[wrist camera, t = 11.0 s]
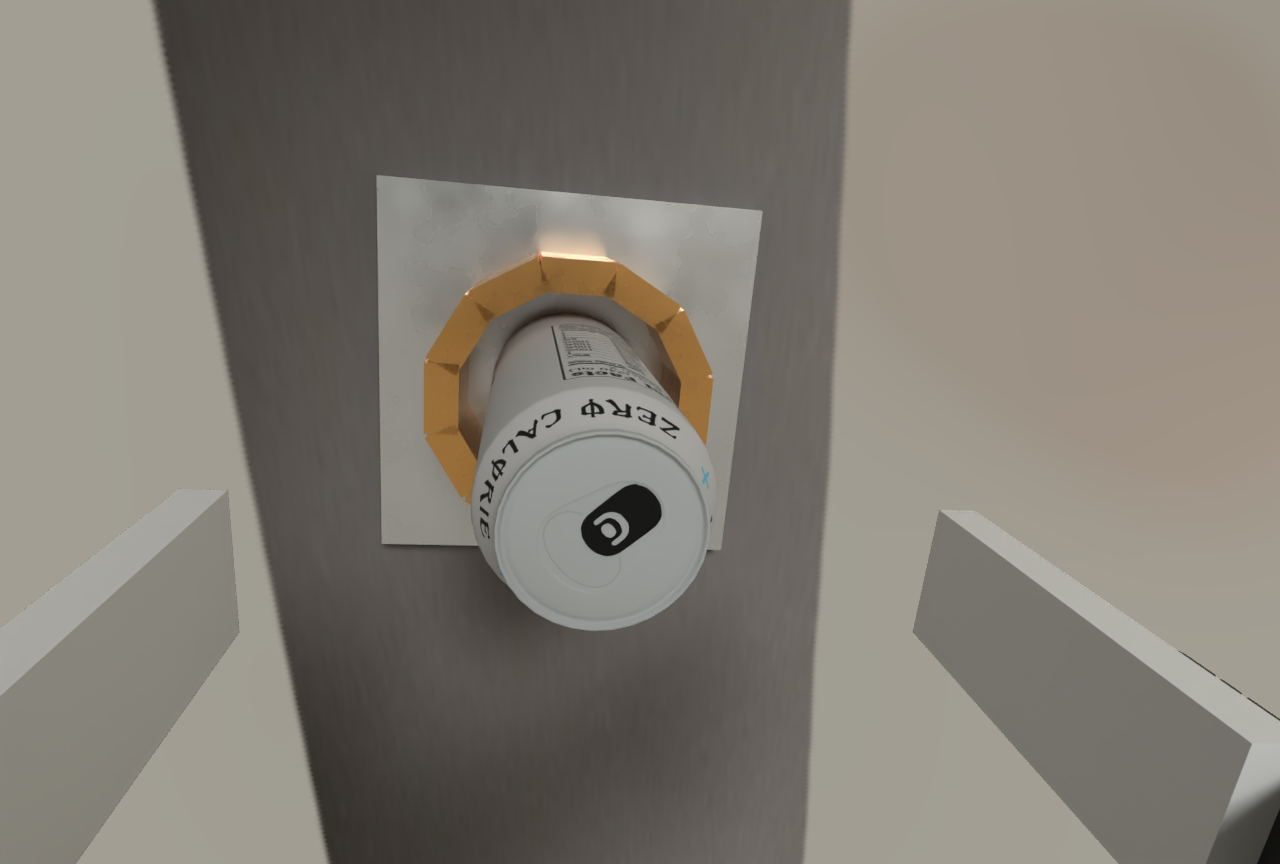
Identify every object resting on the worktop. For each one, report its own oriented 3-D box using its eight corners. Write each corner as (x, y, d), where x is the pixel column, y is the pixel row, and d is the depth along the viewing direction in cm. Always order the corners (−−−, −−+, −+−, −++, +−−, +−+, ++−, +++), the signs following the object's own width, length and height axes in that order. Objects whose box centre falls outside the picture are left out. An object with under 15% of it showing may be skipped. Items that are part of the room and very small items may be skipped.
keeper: (383, 177, 28) (350, 167, 23) (754, 211, 30) (796, 209, 26) (387, 532, 32) (360, 588, 27) (714, 539, 35) (744, 592, 30)
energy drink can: (461, 371, 29) (404, 522, 15) (578, 279, 29) (631, 345, 15) (555, 478, 31) (581, 700, 17) (665, 392, 31) (786, 547, 17)
